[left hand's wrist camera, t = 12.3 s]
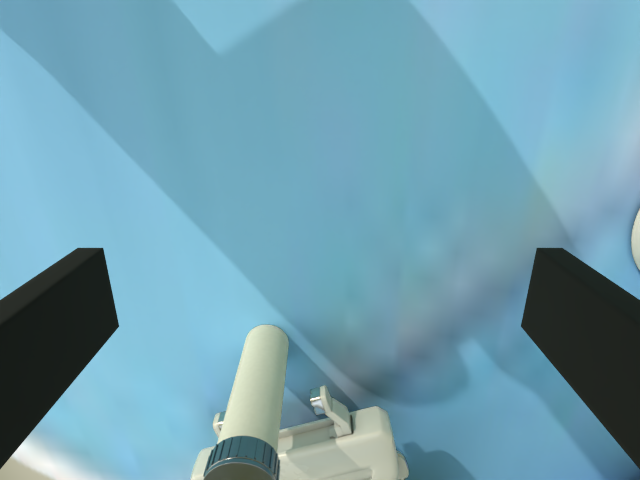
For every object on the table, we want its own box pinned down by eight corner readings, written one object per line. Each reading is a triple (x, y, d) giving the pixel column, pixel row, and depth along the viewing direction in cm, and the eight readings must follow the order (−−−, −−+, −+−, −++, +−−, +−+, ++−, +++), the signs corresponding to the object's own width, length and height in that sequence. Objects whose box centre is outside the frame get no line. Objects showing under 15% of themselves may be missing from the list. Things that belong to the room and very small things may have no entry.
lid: (295, 465, 30) (293, 493, 28) (242, 496, 31) (237, 526, 29) (247, 422, 28) (242, 449, 26) (193, 457, 29) (184, 485, 27)
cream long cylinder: (297, 345, 43) (287, 487, 28) (265, 367, 44) (238, 515, 29) (269, 316, 42) (242, 449, 27) (236, 339, 43) (193, 480, 28)
